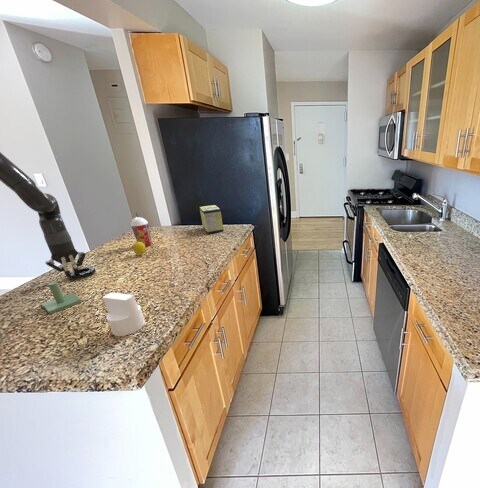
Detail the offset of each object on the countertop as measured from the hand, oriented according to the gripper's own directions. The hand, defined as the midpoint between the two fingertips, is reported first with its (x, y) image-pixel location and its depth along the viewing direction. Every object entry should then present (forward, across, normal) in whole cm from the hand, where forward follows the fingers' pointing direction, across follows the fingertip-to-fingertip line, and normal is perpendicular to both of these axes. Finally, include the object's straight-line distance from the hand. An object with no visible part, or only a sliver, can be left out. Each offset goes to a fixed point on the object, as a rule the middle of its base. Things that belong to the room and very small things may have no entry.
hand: (73, 276), depth 117 cm
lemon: (+1, -29, -2) cm, 29 cm away
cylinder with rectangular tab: (+1, +1, +58) cm, 58 cm away
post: (+1, +9, +22) cm, 24 cm away
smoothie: (+1, -37, -15) cm, 40 cm away
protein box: (+1, -76, -6) cm, 76 cm away
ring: (0, -3, 0) cm, 3 cm away
